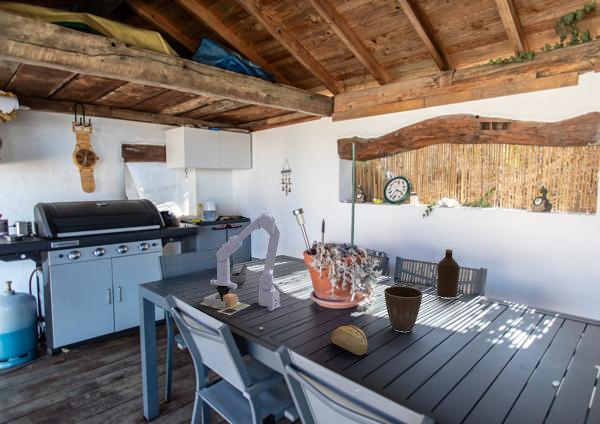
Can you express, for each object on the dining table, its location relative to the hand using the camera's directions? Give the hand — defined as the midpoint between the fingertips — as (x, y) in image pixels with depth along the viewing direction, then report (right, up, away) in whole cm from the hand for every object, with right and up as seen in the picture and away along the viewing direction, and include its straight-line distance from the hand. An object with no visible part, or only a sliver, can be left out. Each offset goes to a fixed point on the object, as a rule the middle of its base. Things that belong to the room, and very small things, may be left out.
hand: (223, 301), depth 175 cm
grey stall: (-1, -1, +1) cm, 2 cm away
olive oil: (+113, -3, +19) cm, 114 cm away
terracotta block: (+3, -1, -2) cm, 4 cm away
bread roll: (+54, -8, -41) cm, 68 cm away
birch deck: (0, -3, -2) cm, 4 cm away
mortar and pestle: (+2, 0, +33) cm, 33 cm away
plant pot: (+77, -6, -24) cm, 81 cm away
